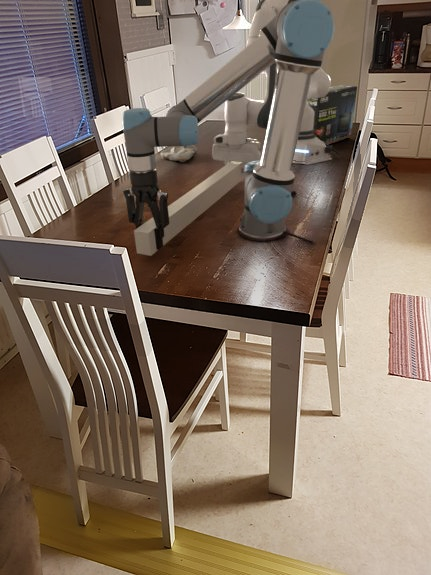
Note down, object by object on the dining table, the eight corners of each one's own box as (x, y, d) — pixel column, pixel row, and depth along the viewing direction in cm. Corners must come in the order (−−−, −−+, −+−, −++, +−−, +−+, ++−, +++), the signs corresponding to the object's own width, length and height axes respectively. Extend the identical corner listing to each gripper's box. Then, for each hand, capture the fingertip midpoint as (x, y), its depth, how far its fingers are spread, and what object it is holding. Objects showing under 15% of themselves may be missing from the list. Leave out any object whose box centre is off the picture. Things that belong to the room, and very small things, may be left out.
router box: (314, 151, 231) (318, 94, 217) (296, 148, 237) (299, 92, 224) (352, 138, 251) (358, 85, 238) (335, 135, 258) (340, 83, 245)
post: (151, 256, 133) (148, 233, 129) (136, 253, 135) (133, 230, 131) (246, 176, 193) (246, 159, 189) (235, 175, 195) (235, 158, 191)
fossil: (184, 156, 217) (163, 136, 220) (174, 174, 223) (154, 154, 227) (205, 153, 231) (186, 134, 234) (195, 171, 237) (176, 152, 240)
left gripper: (178, 168, 125) (184, 245, 137) (122, 162, 131) (133, 236, 143) (164, 176, 119) (172, 256, 131) (107, 170, 125) (119, 246, 137)
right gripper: (263, 137, 180) (263, 172, 188) (216, 134, 188) (217, 167, 195) (258, 141, 176) (257, 176, 183) (209, 138, 183) (211, 172, 190)
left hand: (151, 246), depth 137 cm, fingers closed on post, 5 cm apart
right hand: (236, 172), depth 189 cm, fingers closed on post, 5 cm apart
